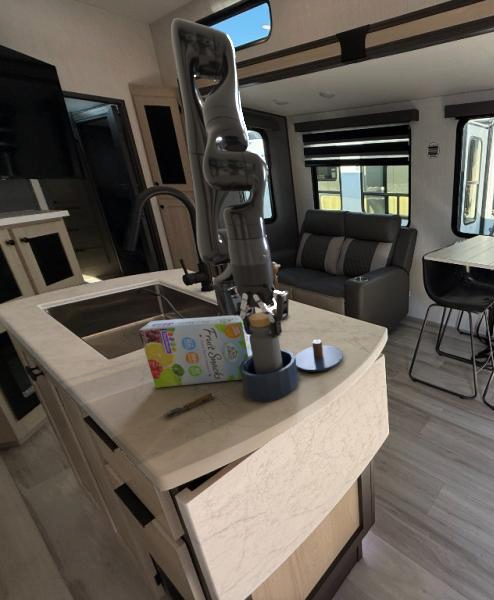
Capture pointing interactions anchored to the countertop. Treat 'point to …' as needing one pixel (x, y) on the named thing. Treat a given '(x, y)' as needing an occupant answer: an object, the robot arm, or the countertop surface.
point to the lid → (318, 357)
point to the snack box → (195, 349)
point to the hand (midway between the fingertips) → (263, 334)
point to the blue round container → (269, 379)
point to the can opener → (191, 404)
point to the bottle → (264, 345)
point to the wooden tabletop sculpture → (275, 269)
